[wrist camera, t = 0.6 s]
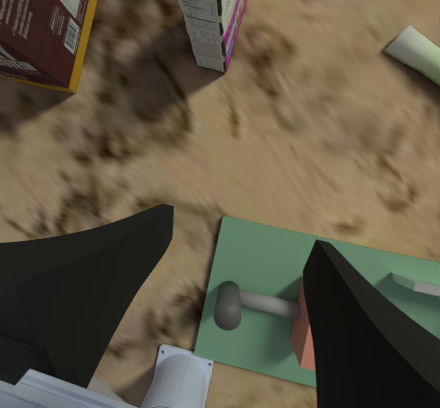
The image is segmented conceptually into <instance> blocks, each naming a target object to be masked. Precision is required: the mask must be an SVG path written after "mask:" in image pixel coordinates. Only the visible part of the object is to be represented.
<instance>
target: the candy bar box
mask: <svg viewBox="0 0 440 408" xmlns="http://www.w3.org/2000/svg"><path fill="white" fill-rule="evenodd" d="M178 2H179V5H180V9H181V11H182V15H183V19H184V22H185V26H186V30H187V32H188V36H189V40H190V43H191V47H192V50H193V54H194V57H195V61H196V64H197V66H200V67H204V68H209V69H213V70H217V71H220V72H224V73H226V72H227V69H228V65H229V62H230V58H231V55H232V51H233V48H234V44H235V41H236V37H237V33H238V30H239V27H240V23H241V20H242V16H243V12H244V9H245V6H246V2H247V0H178Z"/></svg>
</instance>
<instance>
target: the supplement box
mask: <svg viewBox="0 0 440 408" xmlns="http://www.w3.org/2000/svg"><path fill="white" fill-rule="evenodd" d="M96 4H97V0H0V73H2V74H3V75H5V76H7V77H9V78H10V79H12V80H14V81H16V82H20V83H25V84H30V85H35V86H39V87H44V88H49V89H54V90H59V91H64V92H69V93H74V94H75V93H76V90H77V86H78V82H79V77H80V73H81V69H82V65H83V60H84V56H85V52H86V47H87V43H88V39H89V34H90V30H91V26H92V21H93V17H94V13H95V9H96Z"/></svg>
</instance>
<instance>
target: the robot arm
mask: <svg viewBox="0 0 440 408" xmlns="http://www.w3.org/2000/svg"><path fill="white" fill-rule="evenodd" d="M173 213H174V206H171V205H166V204H160V205H157V206H155V207H152V208H150V209H147V210H145V211H142V212H140V213H137V214H135V215H132V216H130V217H127V218H124V219H121V220H119V221H116V222H113V223H110V224H107V225H104V226H100V227H97V228H93V229H89V230H85V231H81V232H76V233H71V234H66V235H62V236H56V237H50V238H43V239H36V240H28V241H19V242H7V243H0V408H138V407H136V406H133V405H130V404H127V403H124V402H122V401H119V400H116V399H113V398H110V397H108V396H105V395H102V394H99V393H96V392H94V391H91V390H88V389H87V387H88V385H89V382H90V380H91V378H92V376H93V374H94V372H95V370H96V368H97V366H98V364H99V362H100V360H101V358H102V356H103V354H104V352H105V350H106V348H107V346H108V344H109V342H110V340H111V338H112V336H113V334H114V332H115V331H116V329H117V327H118V325H119V323H120V321H121V320H122V318H123V316H124V314H125V312H126V310H127V309H128V307H129V305H130V303H131V302H132V300H133V298H134V296H135V295H136V293H137V292H138V290H139V289H140V287H141V286H142V284H143V283H144V282H145V280H146V279H147V277H148V276H149V275H150V273H151V272H152V270H153V269H154V268H155V266H156V265H157V263H158V262H159V261H160V259H161V258H162V256H163V255H164V253H165V251H166V250H167V248H168V246H169V244H170V242H171V240H172V235H173ZM303 290H304V296H305V302H306V308H307V313H308V318H309V324H310V329H311V334H312V341H313V348H314V360H315V372H316V389H317V408H440V339H438V338H437V337H436V336H434V335H433V334H432V333H430V332H429V331H428V330H426V329H425V328H423V327H422V326H421V325H419V324H418V323H417V322H415V321H414V320H413V319H411V318H410V317H409V316H408V315H406V314H405V313H404V312H403V311H401V310H400V309H399V308H398V307H396V306H395V305H394V304H393V303H392V302H390V301H389V300H388V299H387V298H386V297H385V296H383V295H382V294H381V293H380V292H379V291H378V290H377V289H376V288H375V287H374V286H373V285H372V284H370V283H369V282H368V281H367V280H366V279H365V278H364V277H363V276H362V275H361V274H360V273H359V272H358V271H357V270H356V269H355V268H354V267H353V266H352V265H351V264H350V263H349V262H348V261H347V259H346V258H345V257H344V256H343V255H342V254H341V253H340V252H339V251H338V250H337V249H336V248H335V247H334V246H333V245H332V244H331V243H330V242H326V241H322V240H317V239H316V241H315V243H314V245H313V248H312V250H311V252H310V255H309V257H308V259H307V262H306V264H305V266H304V269H303ZM162 350H163V351H164V352H162ZM208 363H211V365H209V364H208ZM213 363H214V361H213V360H209V359H206V358H202V357H198V356H194V352H193V351H189V350H186V349H182V348H178V347H174V346H170V345H167V344H162V345H161V346H160V349H159V354H158V358H157V363H156V368H155V372H154V377H153V381H152V383H151V385H150V387H149V389H148V391H147V394H146V396H145V398H144V400H143V402H142V404H141V406H140V408H204V405H205V400H206V396H207V391H208V386H209V382H210V377H211V372H212V368H213Z"/></svg>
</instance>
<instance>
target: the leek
mask: <svg viewBox="0 0 440 408" xmlns="http://www.w3.org/2000/svg"><path fill="white" fill-rule="evenodd" d="M384 51H385V52H386V53H388V54H389V55H391V56H392V57H394V58H395V59H397V60H398V61H400V62H402V63H403V64H405V65H407V66H409V67H410V68H412V69H414V70H416V71H418V72H420V73H421V74H422V75H424V76H425V77H427V78H428V79H430V80H431V81H433V82H434V83H436V84H437V85H438V86H440V48H438V47H437V46H436V45H434V44H433V43H432V42H430V41H429V40H428V39H427V38H425V37H424V36H423V35H421V34H420V33H419V32H417V31H416V30H415V29H414V28H412V27H411V26H410V25H409V26H408V27H407V28H406V29H405V30H404V31H403V32H402V33H401V34H400V35H399V36H398V37H397V38H396V39H395V40H394V41H393V42H392V43H391V44H390V45H389V46H388V47H387V48H386V49H385V50H384Z"/></svg>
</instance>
